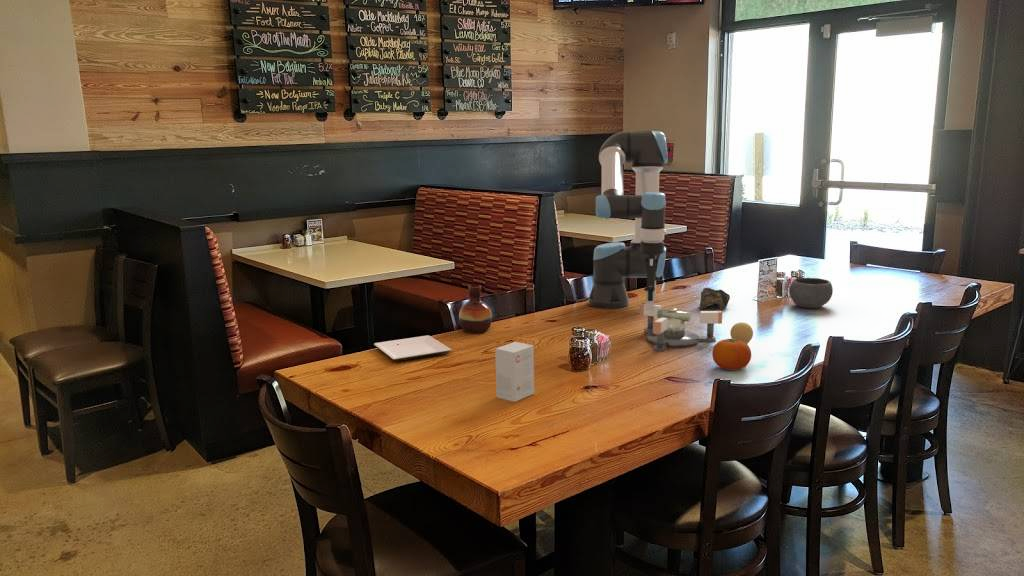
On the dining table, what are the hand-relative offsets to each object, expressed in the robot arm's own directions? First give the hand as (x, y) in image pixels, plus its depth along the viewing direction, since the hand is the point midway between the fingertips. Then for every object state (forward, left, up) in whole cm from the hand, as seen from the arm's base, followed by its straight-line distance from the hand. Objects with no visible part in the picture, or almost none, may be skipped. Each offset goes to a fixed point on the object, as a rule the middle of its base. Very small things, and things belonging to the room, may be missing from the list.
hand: (650, 304), depth 255 cm
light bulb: (+33, -12, -9) cm, 37 cm away
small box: (-7, -74, -9) cm, 75 cm away
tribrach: (+10, -9, -9) cm, 16 cm away
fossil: (+8, +43, -10) cm, 45 cm away
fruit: (+34, -25, -9) cm, 44 cm away
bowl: (+38, +61, -9) cm, 72 cm away
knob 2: (+10, -18, -8) cm, 22 cm away
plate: (-55, -56, -10) cm, 79 cm away
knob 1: (0, -1, -8) cm, 8 cm away
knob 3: (+20, -1, -8) cm, 22 cm away
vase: (-52, -26, -9) cm, 59 cm away
